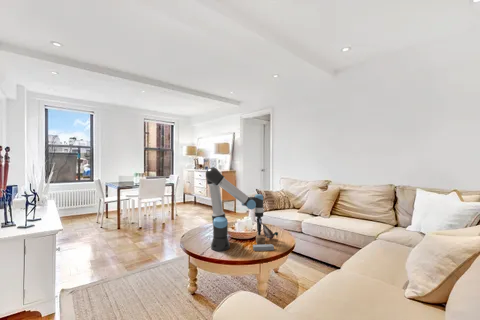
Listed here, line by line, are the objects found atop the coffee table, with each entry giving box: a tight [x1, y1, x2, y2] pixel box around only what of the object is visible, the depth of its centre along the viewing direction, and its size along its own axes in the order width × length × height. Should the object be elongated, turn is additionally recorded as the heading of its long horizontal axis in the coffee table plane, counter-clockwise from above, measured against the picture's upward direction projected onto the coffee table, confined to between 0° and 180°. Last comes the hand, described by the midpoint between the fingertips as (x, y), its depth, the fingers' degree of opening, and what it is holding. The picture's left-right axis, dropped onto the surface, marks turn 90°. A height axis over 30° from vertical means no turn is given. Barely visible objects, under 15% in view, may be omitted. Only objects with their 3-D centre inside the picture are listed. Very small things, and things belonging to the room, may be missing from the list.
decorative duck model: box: [262, 223, 279, 240], centre depth 210 cm, size 15×8×15 cm, turn 52°
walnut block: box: [255, 234, 266, 245], centre depth 200 cm, size 7×7×6 cm
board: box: [252, 243, 275, 252], centre depth 186 cm, size 16×5×3 cm, turn 94°
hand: (259, 238), depth 208 cm, fingers closed
